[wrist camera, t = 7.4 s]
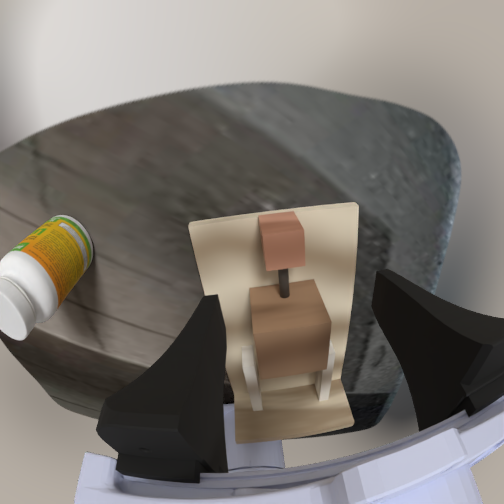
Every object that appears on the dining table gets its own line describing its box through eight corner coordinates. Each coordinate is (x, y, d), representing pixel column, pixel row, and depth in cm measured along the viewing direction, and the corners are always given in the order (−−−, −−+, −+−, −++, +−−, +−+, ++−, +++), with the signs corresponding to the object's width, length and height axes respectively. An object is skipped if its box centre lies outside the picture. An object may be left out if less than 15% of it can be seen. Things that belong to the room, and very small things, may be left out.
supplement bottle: (64, 200, 18) (-16, 260, 9) (106, 248, 20) (47, 331, 12) (36, 238, 19) (-29, 302, 11) (74, 281, 21) (23, 358, 13)
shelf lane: (337, 378, 29) (352, 425, 23) (235, 393, 29) (236, 443, 23) (354, 202, 19) (400, 242, 13) (190, 222, 20) (170, 273, 14)
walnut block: (313, 326, 24) (326, 369, 19) (256, 334, 24) (260, 379, 19) (312, 208, 19) (335, 240, 14) (238, 217, 19) (239, 253, 14)
